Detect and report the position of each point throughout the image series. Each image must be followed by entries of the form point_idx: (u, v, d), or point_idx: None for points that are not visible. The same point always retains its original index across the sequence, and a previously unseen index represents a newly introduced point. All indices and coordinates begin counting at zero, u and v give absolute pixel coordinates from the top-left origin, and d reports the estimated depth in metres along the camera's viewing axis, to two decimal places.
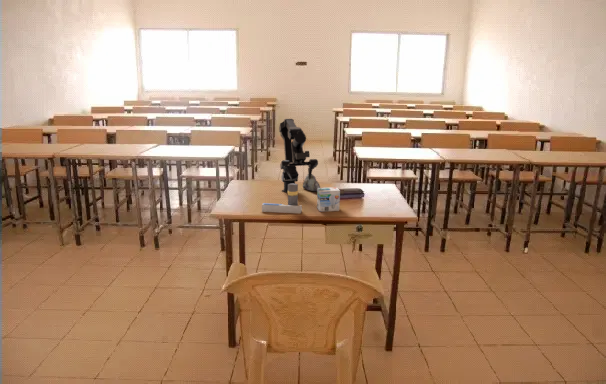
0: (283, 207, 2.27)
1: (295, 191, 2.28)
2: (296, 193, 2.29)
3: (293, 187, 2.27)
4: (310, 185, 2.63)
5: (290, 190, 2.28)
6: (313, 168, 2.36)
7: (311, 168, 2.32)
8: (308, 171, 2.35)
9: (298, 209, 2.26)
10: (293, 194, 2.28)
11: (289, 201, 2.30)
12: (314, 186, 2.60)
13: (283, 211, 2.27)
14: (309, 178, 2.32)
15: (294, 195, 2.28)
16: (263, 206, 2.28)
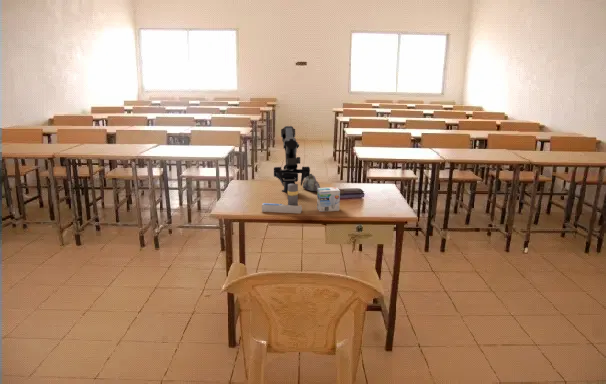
0: (283, 207, 2.27)
1: (295, 191, 2.28)
2: (296, 193, 2.29)
3: (293, 187, 2.27)
4: (310, 185, 2.63)
5: (290, 190, 2.28)
6: (306, 176, 2.39)
7: (303, 175, 2.36)
8: None
9: (298, 209, 2.26)
10: (293, 194, 2.28)
11: (289, 201, 2.30)
12: (314, 186, 2.60)
13: (283, 211, 2.27)
14: None
15: (294, 195, 2.28)
16: (263, 206, 2.28)
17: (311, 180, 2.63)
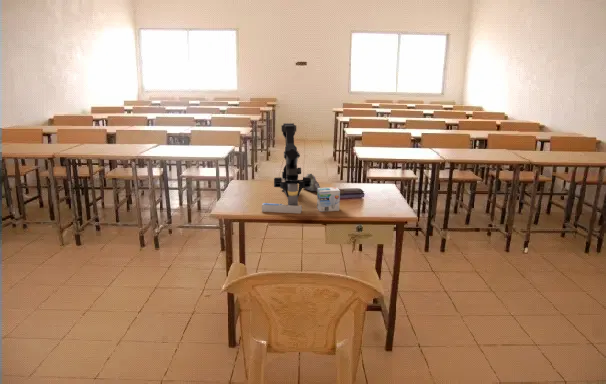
0: (283, 207, 2.27)
1: (295, 191, 2.28)
2: (296, 193, 2.29)
3: (293, 187, 2.27)
4: (310, 185, 2.63)
5: (290, 190, 2.28)
6: (303, 187, 2.35)
7: (300, 185, 2.31)
8: None
9: (298, 209, 2.26)
10: (293, 194, 2.28)
11: (289, 201, 2.30)
12: (314, 186, 2.60)
13: (283, 211, 2.27)
14: (298, 195, 2.29)
15: (294, 195, 2.28)
16: (263, 206, 2.28)
17: (311, 180, 2.63)
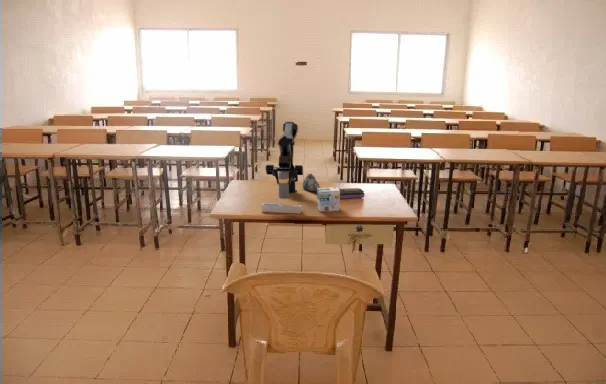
0: (283, 207, 2.27)
1: (285, 179, 2.26)
2: (286, 181, 2.27)
3: (283, 174, 2.25)
4: (310, 185, 2.63)
5: (280, 177, 2.26)
6: (296, 175, 2.32)
7: (291, 173, 2.29)
8: None
9: (298, 209, 2.26)
10: (283, 182, 2.26)
11: (279, 189, 2.28)
12: (313, 186, 2.60)
13: (283, 211, 2.27)
14: None
15: (284, 183, 2.27)
16: (263, 206, 2.28)
17: (311, 180, 2.63)
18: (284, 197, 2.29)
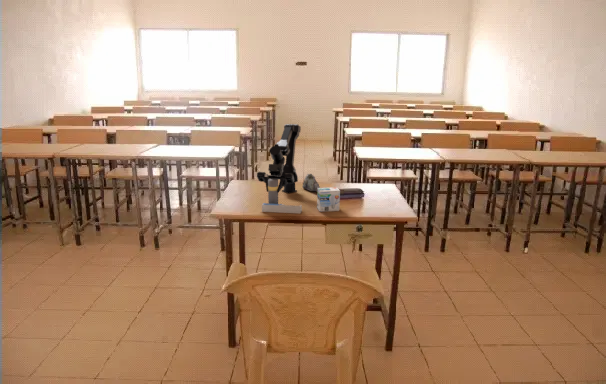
0: (283, 207, 2.27)
1: (274, 186, 2.28)
2: (275, 189, 2.29)
3: (272, 182, 2.28)
4: (309, 185, 2.63)
5: (269, 185, 2.29)
6: (286, 183, 2.34)
7: (281, 181, 2.30)
8: None
9: (298, 209, 2.26)
10: (272, 189, 2.29)
11: (268, 196, 2.31)
12: (313, 186, 2.60)
13: (283, 211, 2.27)
14: (277, 191, 2.30)
15: (273, 191, 2.29)
16: (263, 206, 2.28)
17: (311, 180, 2.63)
18: None
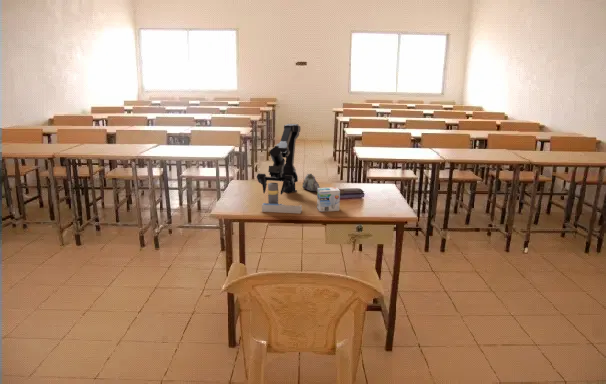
0: (283, 207, 2.27)
1: (274, 190, 2.29)
2: (275, 192, 2.29)
3: (272, 186, 2.28)
4: (309, 185, 2.63)
5: (269, 189, 2.29)
6: (289, 185, 2.33)
7: (284, 183, 2.30)
8: None
9: (298, 209, 2.26)
10: (272, 193, 2.29)
11: (268, 200, 2.32)
12: (313, 186, 2.60)
13: (283, 211, 2.27)
14: None
15: (273, 195, 2.29)
16: (263, 206, 2.28)
17: (311, 180, 2.63)
18: None
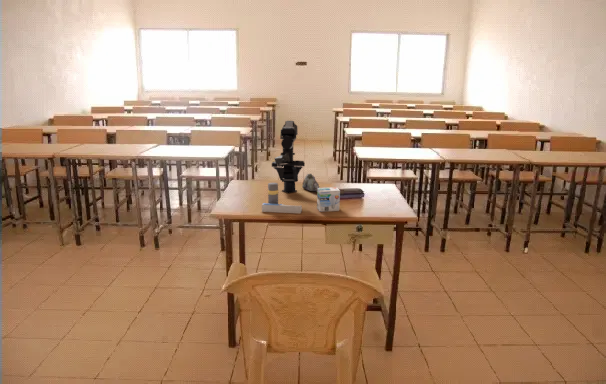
0: (283, 207, 2.27)
1: (274, 190, 2.29)
2: (275, 192, 2.29)
3: (272, 186, 2.28)
4: (309, 185, 2.63)
5: (269, 189, 2.29)
6: (301, 167, 2.39)
7: (294, 170, 2.37)
8: None
9: (298, 209, 2.26)
10: (272, 193, 2.29)
11: (268, 200, 2.31)
12: (313, 186, 2.60)
13: (283, 211, 2.27)
14: (293, 179, 2.39)
15: (273, 195, 2.29)
16: (263, 206, 2.28)
17: (310, 180, 2.63)
18: None
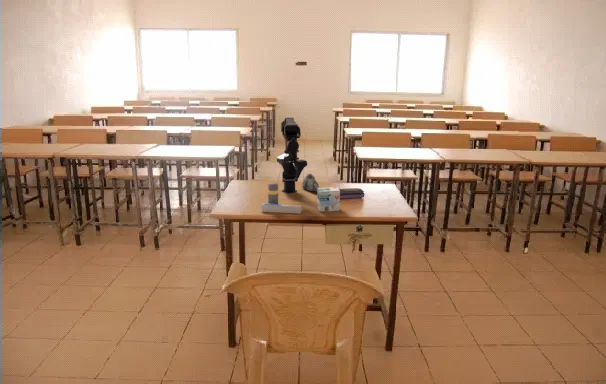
0: (283, 207, 2.27)
1: (274, 190, 2.29)
2: (275, 192, 2.29)
3: (272, 186, 2.28)
4: (309, 185, 2.63)
5: (269, 189, 2.29)
6: None
7: (296, 169, 2.38)
8: None
9: (298, 209, 2.26)
10: (272, 193, 2.29)
11: (269, 200, 2.32)
12: (313, 186, 2.60)
13: (283, 211, 2.27)
14: (296, 177, 2.41)
15: (273, 195, 2.29)
16: (263, 206, 2.28)
17: (310, 180, 2.63)
18: None
